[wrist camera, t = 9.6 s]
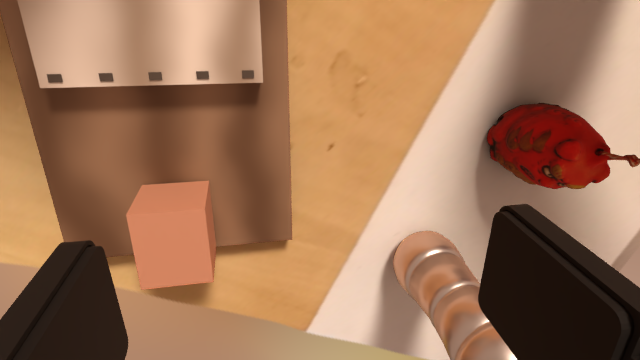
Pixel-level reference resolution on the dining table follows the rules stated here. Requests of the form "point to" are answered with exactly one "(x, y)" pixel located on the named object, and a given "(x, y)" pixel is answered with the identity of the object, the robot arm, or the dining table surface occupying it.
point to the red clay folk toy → (551, 147)
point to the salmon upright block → (173, 234)
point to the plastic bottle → (448, 296)
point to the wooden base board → (158, 109)
